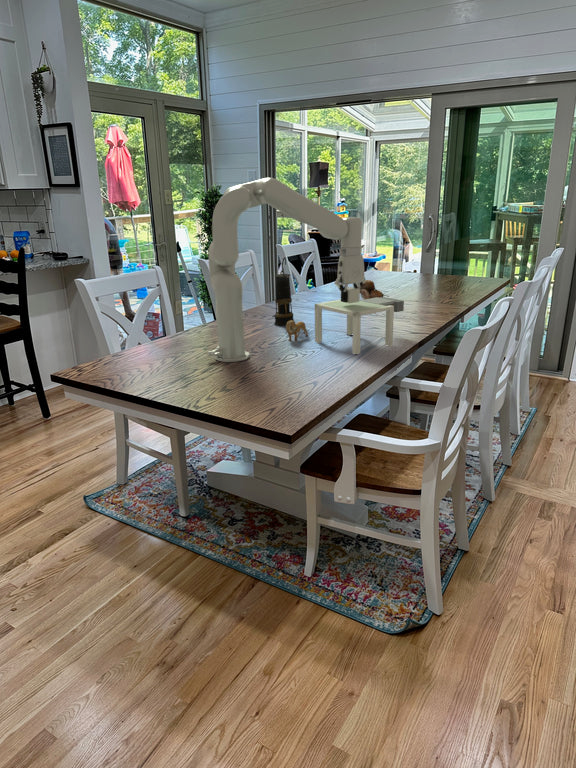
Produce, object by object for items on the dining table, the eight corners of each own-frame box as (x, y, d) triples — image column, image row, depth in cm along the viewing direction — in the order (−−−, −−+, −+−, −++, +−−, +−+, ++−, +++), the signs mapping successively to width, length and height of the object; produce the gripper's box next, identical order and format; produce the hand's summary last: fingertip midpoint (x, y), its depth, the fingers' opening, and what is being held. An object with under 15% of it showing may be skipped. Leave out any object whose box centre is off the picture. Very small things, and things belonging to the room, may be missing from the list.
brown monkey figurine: (360, 285, 303) (350, 280, 290) (387, 279, 296) (378, 275, 282) (362, 308, 303) (352, 304, 290) (389, 303, 295) (380, 299, 282)
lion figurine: (295, 344, 215) (294, 322, 212) (283, 342, 217) (282, 321, 214) (310, 335, 227) (309, 314, 224) (298, 334, 229) (298, 313, 226)
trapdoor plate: (356, 323, 197) (357, 311, 195) (323, 315, 212) (322, 304, 210) (410, 312, 212) (411, 300, 211) (375, 305, 227) (375, 294, 226)
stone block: (349, 303, 202) (349, 290, 200) (340, 301, 206) (340, 288, 204) (359, 301, 205) (359, 288, 203) (350, 299, 209) (350, 287, 207)
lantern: (271, 325, 246) (268, 258, 236) (280, 320, 254) (278, 255, 244) (288, 326, 242) (286, 258, 232) (297, 322, 250) (296, 256, 240)
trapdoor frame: (356, 355, 197) (356, 313, 192) (315, 342, 216) (314, 304, 211) (392, 345, 208) (393, 306, 203) (350, 334, 226) (350, 297, 221)
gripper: (340, 254, 192) (339, 305, 198) (374, 251, 201) (373, 299, 207) (326, 253, 197) (326, 302, 203) (360, 249, 207) (359, 296, 213)
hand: (349, 300), depth 205 cm, fingers closed on stone block, 5 cm apart
